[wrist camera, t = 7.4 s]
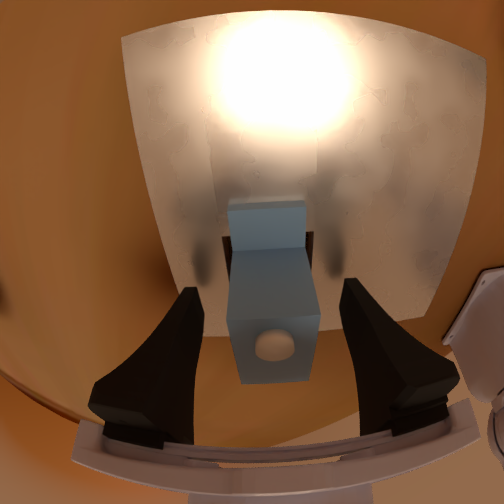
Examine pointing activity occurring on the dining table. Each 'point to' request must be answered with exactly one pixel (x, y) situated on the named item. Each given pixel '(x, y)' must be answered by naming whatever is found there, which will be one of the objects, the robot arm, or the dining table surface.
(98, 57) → the dining table surface
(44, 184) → the dining table surface
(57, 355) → the dining table surface
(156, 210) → the silver flat plate
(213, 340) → the dining table surface
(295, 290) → the servo
